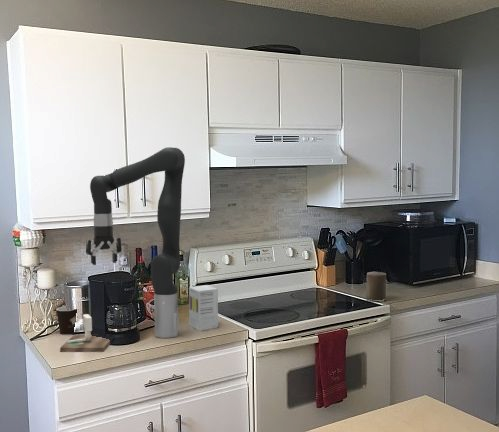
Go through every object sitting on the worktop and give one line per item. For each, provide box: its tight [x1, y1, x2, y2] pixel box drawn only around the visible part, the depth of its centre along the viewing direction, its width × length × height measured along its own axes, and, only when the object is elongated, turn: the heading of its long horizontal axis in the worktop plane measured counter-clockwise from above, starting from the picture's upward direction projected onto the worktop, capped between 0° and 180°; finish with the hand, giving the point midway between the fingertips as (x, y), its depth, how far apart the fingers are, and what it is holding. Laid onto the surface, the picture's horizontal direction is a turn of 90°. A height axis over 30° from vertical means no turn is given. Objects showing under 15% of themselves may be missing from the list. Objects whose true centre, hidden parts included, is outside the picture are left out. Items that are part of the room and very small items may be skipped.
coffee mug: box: [56, 305, 77, 335], centre depth 239 cm, size 12×9×10 cm
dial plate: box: [59, 334, 111, 353], centre depth 221 cm, size 16×16×2 cm
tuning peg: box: [67, 313, 93, 343], centre depth 219 cm, size 8×6×9 cm
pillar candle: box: [365, 270, 387, 300], centre depth 292 cm, size 10×10×15 cm
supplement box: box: [188, 284, 219, 331], centre depth 245 cm, size 10×9×17 cm
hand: (104, 263), depth 238 cm, fingers open, 8 cm apart
